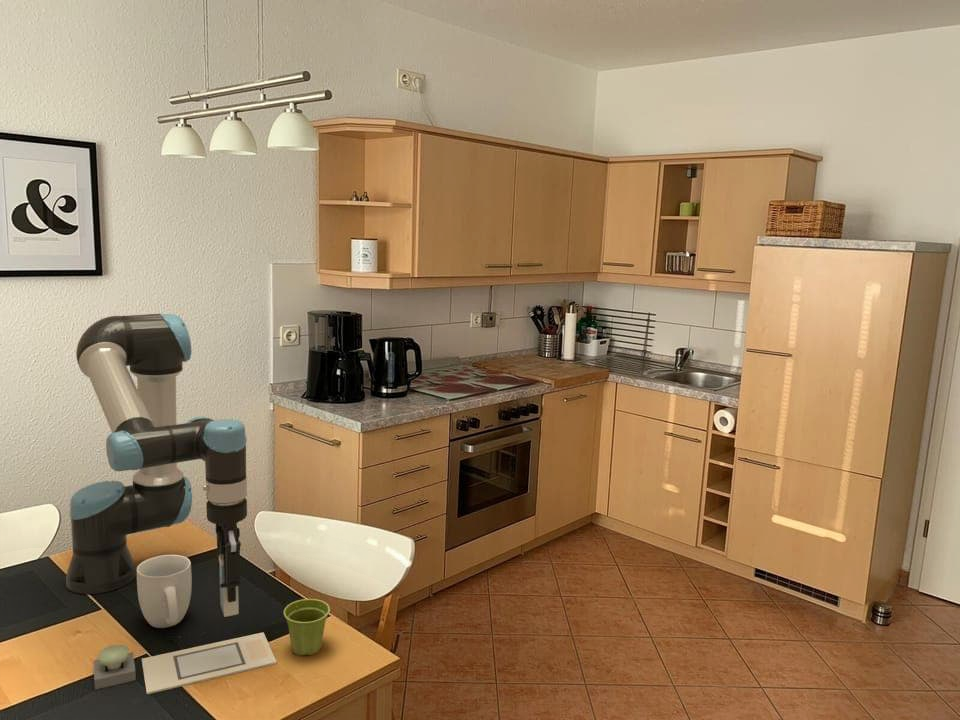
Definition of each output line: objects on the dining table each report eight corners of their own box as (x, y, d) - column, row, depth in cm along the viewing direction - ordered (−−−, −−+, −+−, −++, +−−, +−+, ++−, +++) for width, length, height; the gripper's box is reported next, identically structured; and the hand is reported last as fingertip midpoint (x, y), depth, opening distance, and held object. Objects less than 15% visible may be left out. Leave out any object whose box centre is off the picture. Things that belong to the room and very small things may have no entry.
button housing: (94, 669, 146) (93, 660, 145) (133, 661, 149) (132, 651, 149) (94, 689, 140) (94, 680, 139) (135, 680, 143) (135, 670, 143)
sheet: (141, 660, 149) (141, 658, 149) (263, 633, 161) (263, 632, 161) (146, 694, 139) (146, 692, 139) (276, 663, 150) (276, 661, 150)
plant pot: (339, 644, 158) (339, 607, 156) (307, 666, 150) (307, 627, 148) (306, 631, 163) (306, 594, 161) (274, 651, 155) (273, 613, 153)
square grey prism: (220, 610, 150) (218, 554, 148) (236, 607, 152) (234, 552, 150) (223, 617, 148) (221, 561, 146) (239, 614, 149) (237, 558, 147)
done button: (99, 665, 145) (98, 648, 145) (128, 659, 148) (127, 642, 147) (99, 680, 141) (98, 662, 140) (130, 673, 143) (129, 656, 143)
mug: (202, 634, 160) (200, 577, 157) (146, 648, 154) (144, 589, 151) (186, 603, 172) (184, 550, 169) (134, 615, 166) (132, 560, 163)
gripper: (200, 488, 151) (203, 596, 155) (213, 516, 137) (216, 634, 141) (238, 483, 154) (241, 589, 158) (255, 510, 140) (257, 625, 144)
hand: (229, 610), depth 150 cm, fingers closed on square grey prism, 3 cm apart
